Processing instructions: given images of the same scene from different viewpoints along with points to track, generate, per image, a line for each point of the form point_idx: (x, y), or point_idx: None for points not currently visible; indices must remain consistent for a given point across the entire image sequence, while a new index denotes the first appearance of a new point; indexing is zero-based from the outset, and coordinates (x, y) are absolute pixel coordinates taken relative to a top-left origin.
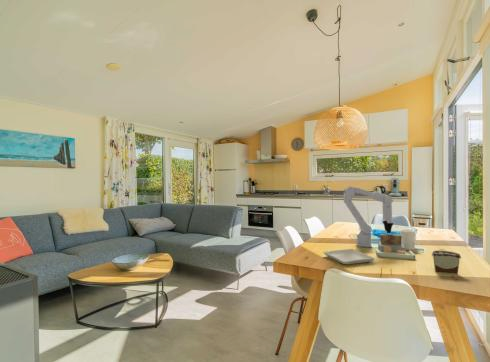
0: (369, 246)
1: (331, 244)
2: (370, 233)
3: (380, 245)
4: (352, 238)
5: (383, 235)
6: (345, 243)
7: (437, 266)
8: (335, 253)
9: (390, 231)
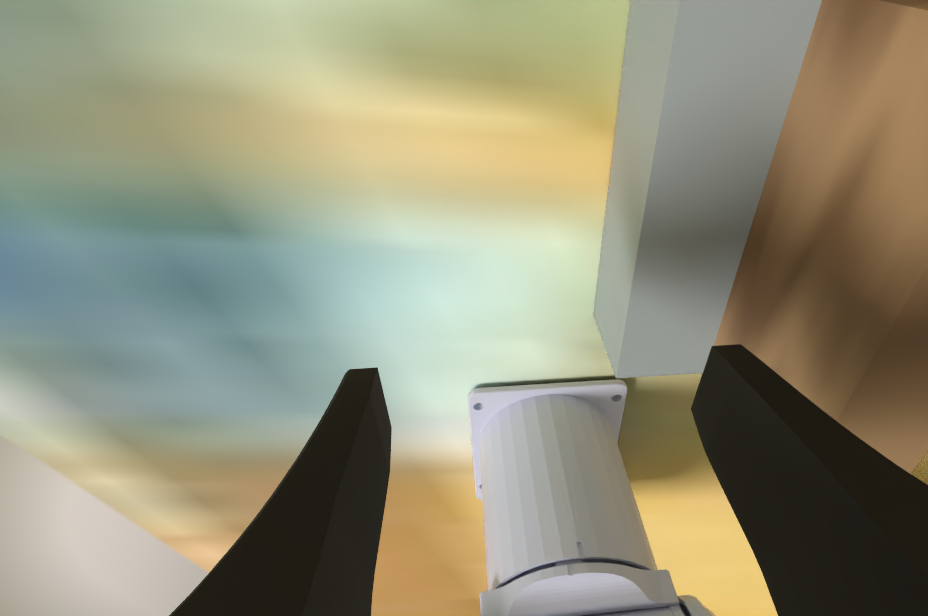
0: (622, 407)
1: None
2: (629, 573)
3: None
4: (188, 531)
5: (914, 447)
6: None
7: None
8: None
9: (777, 380)
